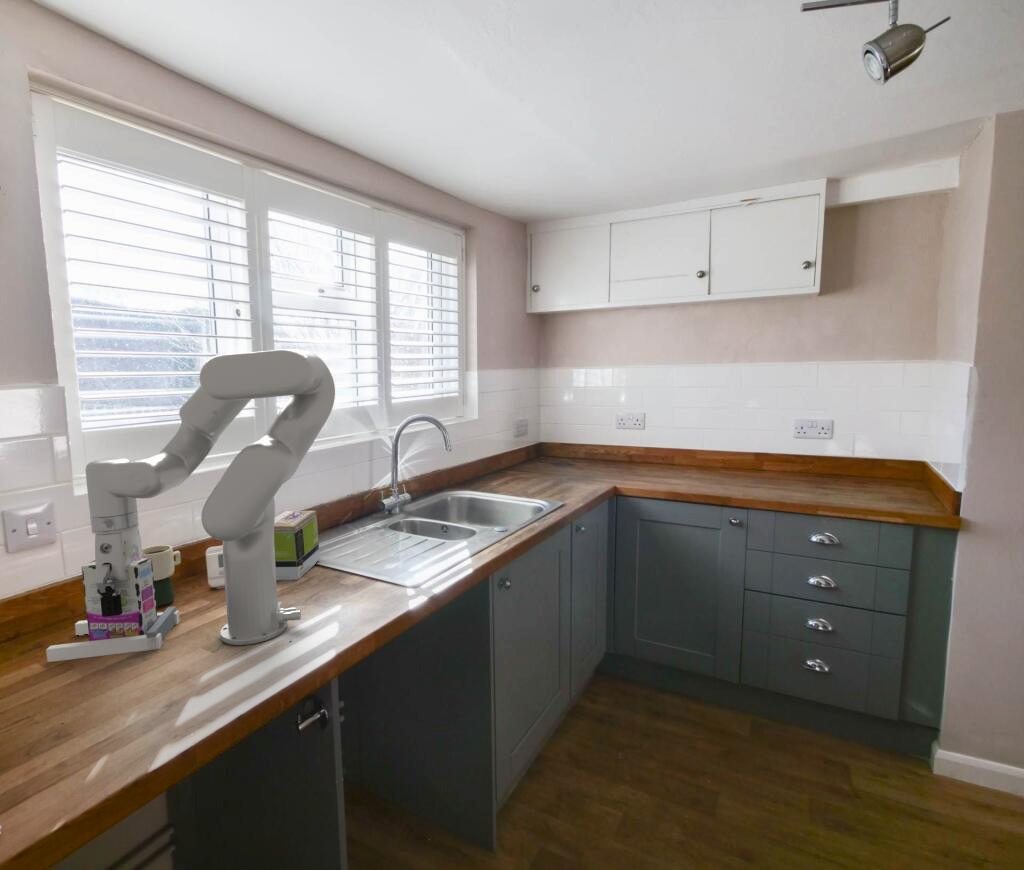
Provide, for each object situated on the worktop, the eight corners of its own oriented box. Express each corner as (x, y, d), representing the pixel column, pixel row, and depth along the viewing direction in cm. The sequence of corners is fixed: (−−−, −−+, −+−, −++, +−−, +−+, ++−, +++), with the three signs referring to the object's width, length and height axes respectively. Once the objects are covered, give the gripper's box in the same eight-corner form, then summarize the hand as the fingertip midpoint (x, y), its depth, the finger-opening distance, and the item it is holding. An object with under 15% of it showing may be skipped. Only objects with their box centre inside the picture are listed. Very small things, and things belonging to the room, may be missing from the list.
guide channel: (179, 621, 119) (178, 606, 119) (159, 648, 107) (158, 631, 107) (79, 632, 114) (77, 616, 114) (47, 662, 103) (45, 644, 102)
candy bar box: (160, 633, 114) (153, 556, 112) (143, 646, 109) (136, 565, 107) (107, 633, 114) (99, 556, 112) (88, 645, 109) (79, 565, 107)
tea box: (286, 560, 157) (282, 509, 155) (320, 560, 156) (318, 509, 154) (259, 580, 142) (256, 524, 140) (298, 581, 141) (295, 525, 139)
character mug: (175, 592, 135) (171, 540, 133) (191, 598, 131) (187, 545, 129) (125, 609, 125) (120, 553, 124) (141, 616, 122) (135, 559, 120)
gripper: (117, 532, 101) (126, 621, 103) (153, 509, 118) (159, 586, 120) (69, 536, 99) (79, 626, 101) (112, 511, 116) (120, 590, 118)
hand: (123, 604), depth 110 cm, fingers open, 9 cm apart
